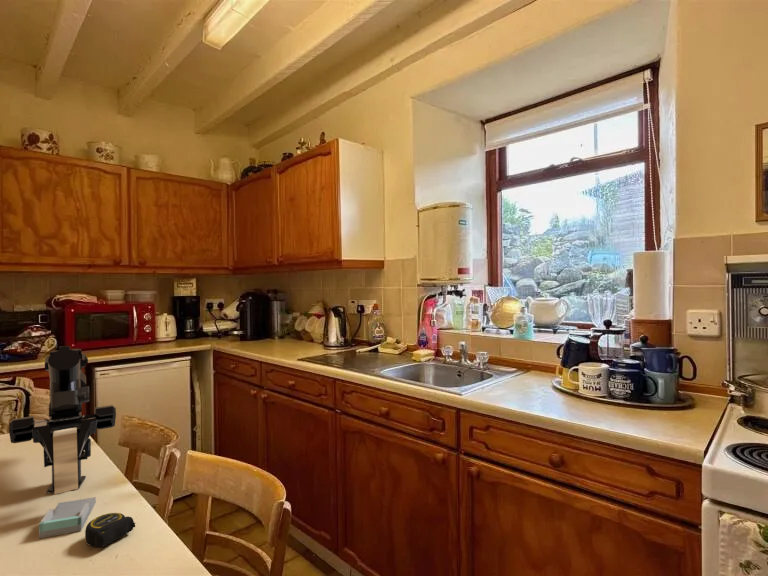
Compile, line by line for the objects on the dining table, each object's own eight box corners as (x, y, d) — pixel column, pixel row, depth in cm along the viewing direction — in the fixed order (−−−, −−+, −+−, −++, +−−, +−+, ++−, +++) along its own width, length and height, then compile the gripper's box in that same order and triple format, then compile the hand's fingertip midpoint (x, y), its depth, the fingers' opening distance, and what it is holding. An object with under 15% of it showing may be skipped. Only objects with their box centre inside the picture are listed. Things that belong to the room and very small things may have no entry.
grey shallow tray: (58, 508, 95) (58, 495, 95) (95, 502, 97) (95, 490, 97) (39, 538, 84) (39, 524, 84) (81, 530, 86) (81, 517, 86)
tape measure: (100, 554, 79) (100, 534, 79) (77, 545, 82) (76, 525, 82) (135, 534, 85) (135, 515, 85) (112, 526, 88) (112, 508, 88)
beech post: (55, 486, 93) (53, 431, 93) (78, 481, 96) (76, 427, 95) (54, 494, 90) (53, 436, 90) (78, 488, 92) (76, 432, 92)
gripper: (9, 380, 90) (3, 450, 81) (115, 370, 101) (119, 430, 92) (13, 409, 97) (8, 477, 88) (112, 396, 108) (116, 455, 99)
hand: (65, 459), depth 92 cm, fingers closed on beech post, 4 cm apart
